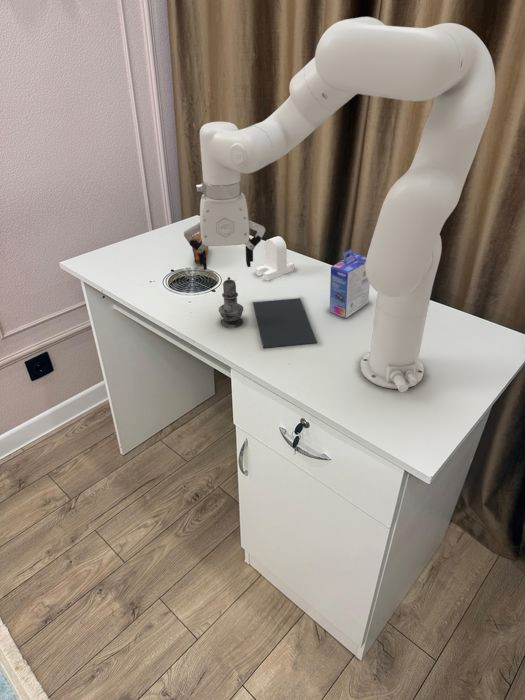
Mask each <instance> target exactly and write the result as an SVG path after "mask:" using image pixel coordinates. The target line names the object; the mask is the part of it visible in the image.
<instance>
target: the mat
mask: <svg viewBox="0 0 525 700" xmlns="http://www.w3.org/2000/svg"><path fill="white" fill-rule="evenodd" d="M252 305H253V309H254V313H255V318H256V322H257V327H258V331H259V334H260V339H261V344H262V348H263V349H272V348H281V347H282V348H283V347H293V346H303V345H313V344H314V345H315V344H317V343H318V341H317V338H316V335H315V333H314V331H313V327H312V326H311V323H310V320H309V317H308V316H307V313H306V310H305V308H304V304H303V302H302V300H301V298H300V297H299V298H297V297H296V298H286V299H277V300H276V299H275V300H264V301H263V300H261V301H253V302H252Z"/></svg>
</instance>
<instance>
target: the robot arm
mask: <svg viewBox="0 0 525 700" xmlns="http://www.w3.org/2000/svg"><path fill="white" fill-rule="evenodd" d="M288 87H289V88H288V90H289V96H288V98H287V99H285V101H284V102H283V103H282V104H281V105H280V106H279V107H278V108H277V109H276V110H275V111H273V112H272V114H270V115H268V117H267V118H266V119H264V120H263V121H261V122H257V123H254V124H252V125H249V126H247V127H245V128H241V129H239V128H238V126H237V125H236V124H234V123H232V122H229V121H211V122H207V123H204V124H203V125H202V126H201V127H200V129H199V144H200V145H199V146H200V157H201V171H202V181H201V183H199V184H196V185H195V186H196V192H200V193H202V194H201V197H200V203H199V222H197V224H195V225H193V226H191V227H190V228H188V229H186V230H184V232H183V237H184V238H185V240H186V241H187V243H189V246H190V247H191V248H192V247H193V248H194V249H195V250H197V252H198V253H199V259H200V264H199V266H202V267H203V271H206V270H207V269H208V267H207V266H208V265H207V260H206V253H205V249H206V247H207V246H208V247H227V246H228V247H229V246H240V245H245V263H246V267H248V268H251V267H252V266H251V265H252V264H251V263H253V262H254V250H255V248H256V246H258V244H259V243H261V241H262V238H263V236H264V235H265V233H266V227H265V226H264V225H262V224H259V223H257V222H254V221H253V220H250V219H249V211H248V209H249V208H248V203H247V199H246V195H245V194H244V193H243V192H242V180H241V179H242V178H241V174H253V173H255V172H258V171H259V170H261V169H264V168H265V167H267V166H268V165H270V164H272V163H275V162H277V161H278V160H280V159H281V158H283V157H284V156H286V155H287V154H288V153H289V152H291V151H292V150H293V149H295V147H297V146H298V145H299V144H301V143H302V142H303V141H304V140H305V139H306V138H308V137H309V136H310V135H311V134H312V133H313V132H314V131H315V130H316V129H318V128H319V127H320V126H321V125H322V124H323V123H324V122H325V121H326V120H327V119H329V118H330V117H331V116H332V115H333V114H335V113H336V112H337V111H338V110H339V109H341V108H342V107H343V106H344V105H346V104H347V103H348V102H349V101H350V100H352V98H354V97H355V96H356V95H363V96H369V97H370V96H371V97H378V98H384V99H392V100H396V101H397V100H398V101H407V102H425V101H429V100H433V102H432V106H431V109H430V112H429V114H428V117H427V119H426V122H425V124H424V127H423V129H422V133H421V136H420V140H419V144H418V146H417V149H416V152H415V155H414V157H413V160H412V162H411V164H410V166H409V168H408V169H407V171H406V172H405V173H404V174H403V175H402V176H400V177H399V178H398V179H397V180H396V181H395V182H394V183H393V185H392V186H391V187H390V189H389V190H388V192H387V194H386V196H385V198H384V200H383V203H382V206H381V208H380V212H379V215H378V218H377V221H376V225H375V228H374V232H373V234H372V238H371V240H370V244H369V248H368V252H367V254H366V257H367V258H366V265H365V269H366V275H367V278H368V281H369V283H370V287H372V288H373V290H374V291H375V292H376V293H377V294H376V301H375V309H374V316H373V324H372V333H371V341H370V350H369V352H367V353H365V355H364V356H363V357H362V359H361V361H360V371H361V373H362V374H363V377H365V378H366V379H367V380H368V381H370V383H372V384H374V385H377V386H379V387H382V388H387V389H394V390H398V392H400V393H405V392H407V391H408V390H409V388H411V387H414V386H416V385H417V384H419V383H420V382H421V381H422V380H423V378H424V373H425V366H424V365H423V363H422V361H421V360H420V359H419V357H420V352H421V347H422V342H423V336H424V331H425V325H426V321H427V317H428V316H427V315H428V311H429V306H430V300H431V297H432V291H433V286H434V282H435V278H436V275H437V272H438V268H439V265H440V260H441V257H442V249H443V247H442V245H443V244H442V238H441V235H440V234H441V231H442V229H443V226H444V225H445V223H446V221H447V220H448V218H449V217H450V215H451V214H452V213H453V212H454V210H455V209H456V207H457V205H458V203H459V201H460V198H461V195H462V191H463V188H464V185H465V183H466V180H467V177H468V176H469V175H468V174H469V172H470V169H471V167H472V164H473V162H474V159H475V157H476V154H477V151H478V148H479V145H480V143H481V140H482V137H483V135H484V132H485V129H486V127H487V125H488V121H489V118H490V114H491V111H492V108H493V104H494V99H495V94H496V93H495V92H496V71H495V67H494V62H493V59H492V55H491V54H490V51H489V49H488V48H487V46H486V44H484V41H482V40H481V38H480V37H479V36H478V35H477V34H476V33H475V32H474V31H473V30H471V29H470V28H468V27H467V26H464V25H462V24H459V23H454V22H444V23H439V24H435V25H432V26H427V27H409V26H396V25H395V26H394V25H385V23H383V22H382V21H381V20H379V19H377V18H375V17H371V16H359V17H355V18H347V19H342V20H339V21H336V22H335V23H333V24H332V25H330V26H329V27H328V28H327V29H326V30H325V32H323V34H322V35H321V38H320V39H319V41H318V43H317V45H316V49H315V54H314V57H313V58H312V59H311V60H310V61H308V63H307V64H305V65H304V67H303V68H301V69H300V70H299V71H298V72H297V73H296V74H295V75H294V76H293V77H292V78H291V80H290V81H289V86H288ZM250 230H252V231H255V232H256V234H254V236H253V237H252V238H250ZM199 231H201V240H200V242H198V241H196V240H195V239H194V238H193V235H194V234H196V233H198V232H199Z"/></svg>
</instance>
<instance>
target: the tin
mask: <svg viewBox="0 0 525 700" xmlns="http://www.w3.org/2000/svg"><path fill="white" fill-rule="evenodd" d="M193 238H194V239H195V240H196V241H198V242H200V240H201V231H199V232H198V233H196V234H194V235H193ZM191 249H192V253H193V259H194V263H195V265H200V259H199V253H198V252H197V250H195V249H194V248H193V247H192V246H191ZM205 253H206V261H207V259H208V254H209V246H207V247H206V249H205Z"/></svg>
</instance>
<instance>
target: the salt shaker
mask: <svg viewBox="0 0 525 700" xmlns="http://www.w3.org/2000/svg"><path fill="white" fill-rule="evenodd" d="M222 291H223V293H222V294H221V295H222V298H223V304H222V305H220V306H219V308H218V313H219V314H220V317H221V318H222V319H221V320H220V325H221V326H222V327H224V328H226V329H235V328H239V327H240V326H242V325H243V323H244V320H243V318H242V315H243V312H244V310H245V309H244V306H243V305H242V304H240V303H238V296H239V294H238V292H237V285H236V281H234V279H231V277H230V276H228V277H227V279H226V280H224V281H223V283H222Z"/></svg>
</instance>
